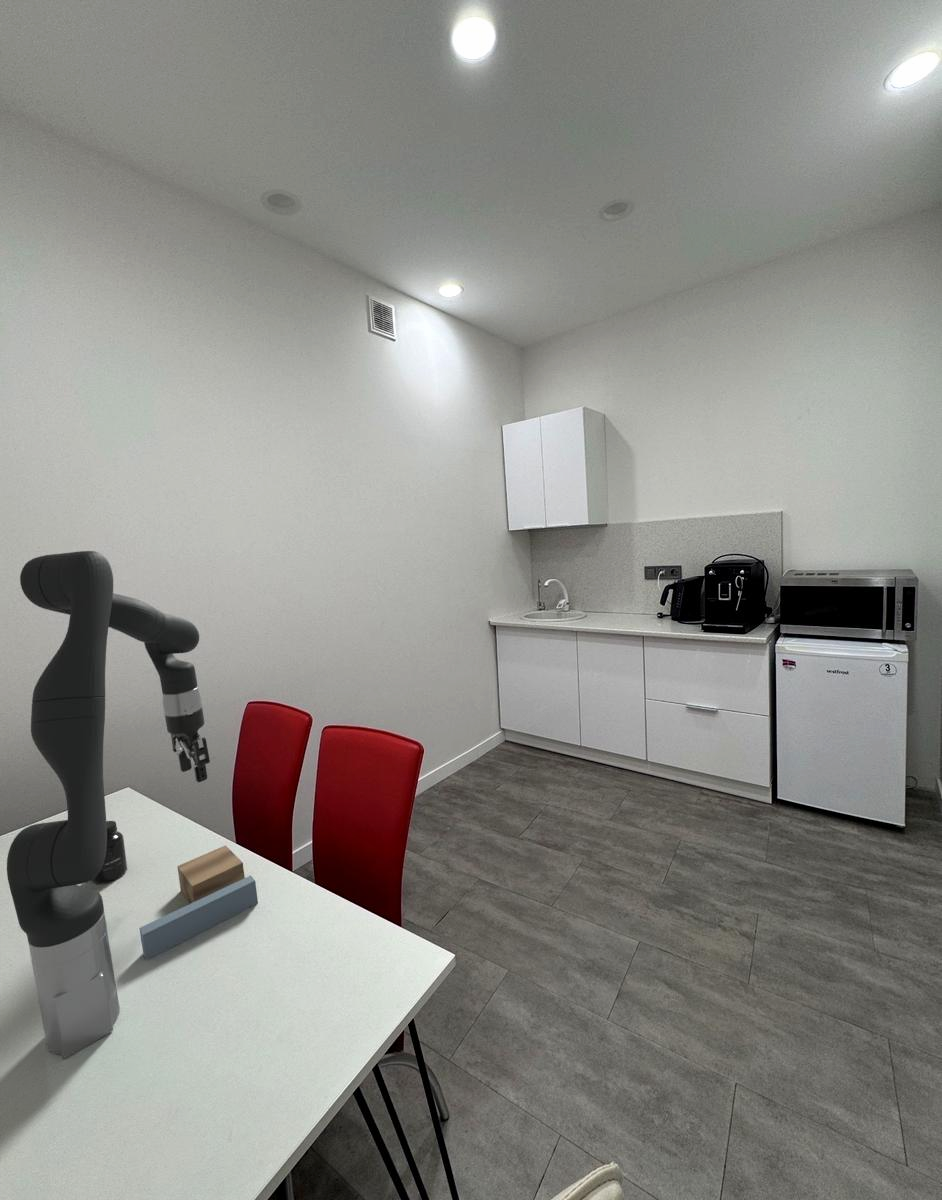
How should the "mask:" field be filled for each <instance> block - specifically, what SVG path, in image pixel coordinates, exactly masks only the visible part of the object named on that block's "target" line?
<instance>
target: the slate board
mask: <svg viewBox="0 0 942 1200" xmlns="http://www.w3.org/2000/svg"><path fill="white" fill-rule="evenodd" d="M257 904H259V902H258V892H257V883H256V879H255V878H254V877H253V876H252V875H248V876H246V877H245V878H244V879H242V880H240V881H238V882H235V883H233V884H231V885H229V886H227V887H225V888H223V889H221V890H219V891H216V892H214V893H212V894H210V895H208V896H206V897H204V898H202V899H200V900H197V901H195V902H193V903H191V904H189V903H188V905H185V906H182V907H181V908H179V909H177V910H174V911H172V912H170V913H168V914H165V915H164V916H162V917H160V918H157V919H156V920H153V921H151V922H150V923H147V924H144V925H143V926H140V927H139V934H140V940H141V946H142V947H141V949H142V954H143V956H144V958H145V961H148V960H150V959H153V958H154V957H156V956H158V955H160V954H161V953H164V952H165V951H168V950H169V949H172V948H173V947H176V946H177V945H179V944H181V943H183V942H186V941H187V940H189V939H191V938H193V937H195V936H197V935H198V934H201V933H203V932H205V931H206V930H208V929H210V928H212V927H215V926H216V925H218V924H220V923H222V922H225V921H226V920H228V919H230V918H232V917H234V916H235V915H238V914H240V913H242V912H244V911H245V910H248V909H250V908H252V907H253V906H255V905H257Z"/></svg>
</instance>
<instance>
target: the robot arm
mask: <svg viewBox="0 0 942 1200" xmlns="http://www.w3.org/2000/svg"><path fill="white" fill-rule="evenodd" d="M19 580H20V581H19V583H20V587H21V589H22V592H23V594H24V596H25V597H26V598H27V599H28V600H29V602H30V603H32V604H33V605H34V606H37V607H38V608H40V609H44V610H47V611H52V612H56V613H60V614H64V615H65V614H66V615H69V621H68V626H67V630H66V631H67V632H66V634H65V637H64V639H63V641H62V643H61V645H60V647H59V648H58V650H57V651H56V653H55V654H54V656H52V658H51V660H50V661H49V662H48V664H47V666H45V669H44V670H43V672H42V673H41V675H40V676H39V678H38V680H37V682H36V684H35V686H34V689H33V692H32V699H31V711H30V712H31V713H30V714H31V715H30V733H31V734H30V735H31V738H32V741H33V742H34V744H35V746H36V748H37V750H38V751H39V753H40V754H41V756H42V757H43V758H44V759H45V761H46V763H47V764H48V765H49V766H50V767H51V769H52V770H53V772H54V773H55V774H56V776H57V777H58V779H59V781H60V783H61V785H62V787H63V790H64V794H65V800H66V807H67V809H66V810H67V819H65V820H64V819H63V820H58V821H57V820H56V821H49V822H41V823H35V824H32V825H29V826H27V827H24V828H23V829H22V830H20V831H19V833H18V834H16V836H15V837H14V838H13V841H12V843H11V845H10V846H9V849H8V853H7V858H6V875H7V882H8V886H9V890H10V895H11V898H12V901H13V902H12V903H13V905H14V910H15V913H16V916H17V922H18V924H19V927H20V928H21V930H22V931H23V932H24V933H25V934H26V937H27V942H28V947H29V948H28V949H29V953H30V954H29V955H30V960H31V968H32V971H33V977H34V983H35V987H36V995H37V999H38V1000H37V1001H38V1005H39V1012H40V1015H41V1016H40V1017H41V1021H42V1028H43V1032H44V1033H43V1034H44V1038H45V1043H46V1044H45V1045H46V1047H47V1049H48V1051H49V1052H50V1053H52V1054H54V1055H55V1054H56V1055H57V1054H58V1055H61V1057H62V1059H63V1060H64V1059H66V1058H68V1057H70V1056H71V1055H74V1054H75V1053H76V1052H78V1051H81V1050H82V1049H84V1048H86V1047H87V1046H89V1045H91V1044H92V1043H94V1042H96V1041H98V1040H99V1039H100V1040H101V1038H103V1037H105V1036H107V1035H109V1034H110V1033H111V1032H113V1031H114V1027H113V1026H114V1024H115V1022H116V1020H117V1019H118V1017H119V1014H120V1003H119V994H118V989H117V984H116V983H117V982H116V979H115V971H114V966H113V959H112V952H111V945H110V939H109V934H108V927H107V920H106V914H105V913H106V912H105V907H104V906H105V905H104V900H103V897H102V894H101V893H100V892H99V891H98V890H96V889H95V888H91V887H85V886H81V885H82V884H85V883H89V882H92V880H93V879H94V878H95V877H96V876H97V875H98V873H99V872H100V870H101V868H102V866H103V863H104V860H105V855H106V848H107V823H106V821H107V813H106V812H107V811H106V798H105V787H104V785H105V784H104V738H105V722H106V664H107V663H106V662H107V661H106V660H107V643H108V633H109V628H110V629H113V630H115V631H118V632H121V633H122V634H123V635H126V636H128V637H131V638H133V639H135V640H137V641H139V642H142V643H143V644H144V647H145V650H146V651H147V654H148V657H149V658H150V660H151V661H152V664H153V666H154V668H155V670H156V672H157V674H158V676H159V680H160V687H161V692H162V693H161V694H162V707H163V714H164V718H165V719H164V720H165V724H166V729H167V733H168V734H170V737H171V738H170V739H171V746H172V751H173V753H176V756H177V757H178V762H179V767H180V768H179V769H180V772H183V773H185V772H187V771H190V770H192V768H193V770H194V777H195V781H196V782H197V783H201V782H204V781H206V780H207V779H208V772H207V766H206V765H207V764H209V763H210V762H211V760H210V756H209V755H210V754H209V750H208V743H207V739H206V737H205V736H204V737H201V735H200V734H199V732H198V731H199V730H200V729H201V728H202V727H204V725H205V717H204V709H203V704H202V703H203V702H202V698H201V693H200V690H199V686H198V679H197V673H196V668H195V666H194V664H193V663H192V662H188V661H183V660H179V659H177V657H175V655H174V654H186V653H190V652H192V651H193V650H195V649H196V647H198V645H199V643H200V633H199V630H198V628H197V627H196V625H195V624H194V623H193V622H192V621H189V620H187V619H185V618H183V617H179V616H175V615H173V614H168V613H163V612H162V611H160V610H159V609H157V608H156V607H154V606H152V605H150V604H149V603H147V602H145V601H143V600H139V599H137V598H134V597H131V596H130V597H129V596H125V595H122V594H117V593H114V575H113V570H112V566H111V565H110V562H109V560H108V559H107V558H106V557H105V556H104V555H103V554H102V553H100V552H98V551H95V550H94V551H93V550H83V551H81V550H79V551H73V552H63V553H53V554H45V555H40V556H36V557H34V558H32V559H30V560H28V561H27V562H26V563H25V564H24V566H23V567H22V569H21V572H20V576H19ZM200 758H201V759H200ZM210 764H211V763H210Z"/></svg>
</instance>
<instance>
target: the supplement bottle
mask: <svg viewBox="0 0 942 1200" xmlns="http://www.w3.org/2000/svg"><path fill="white" fill-rule="evenodd" d="M106 823H107V848H106V855H105V860H104V863H103V866H102V868H101V870H100V872H99V873H98V875H97V876H96V877H95V878H94V879H93V880H91V882H92V883H94V884H98V885H100V884H107V883H111V882H113V881H115V880H117V879H119V878H121V877H122V876H123V875H124V874H125V873H126V872H127V870H128V864H127V863H128V862H127V855H126V848H125V840H124V835H123V833H122V832H120V831H118V826H117V822H116V821H115V820H106Z"/></svg>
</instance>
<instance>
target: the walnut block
mask: <svg viewBox="0 0 942 1200" xmlns="http://www.w3.org/2000/svg"><path fill="white" fill-rule="evenodd" d="M176 867H177V873H178V882H179V888H180V893H181V894H182V895H183V897H184V898H185V899H186V900H187V902H188V905H189V904H191V903H193V902H195V901H197V900H200V899H202V898H204V897H206V896H208V895H210V894H212V893H214V892H216V891H219V890H221V889H223V888H225V887H227V886H229V885H231V884H233V883H235V882H238V881H240V880H242V879H244V878H246V877H245V869H244V862H243V861H242V860H241V859H240V858H239V857H238V856H237V855H236V854H235V853H234V852H233V851H232V850H231V849H230V848H229V847H228V846H227V845H226V844H225V845H223V846H221V847H218V848H215V849H214V850H212V851H209V852H207V853H205V854H202V855H200V856H198V857H196V858H193V859H191V860H188V861H186V862H184V863H182V864H179V865H177V866H176Z"/></svg>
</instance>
